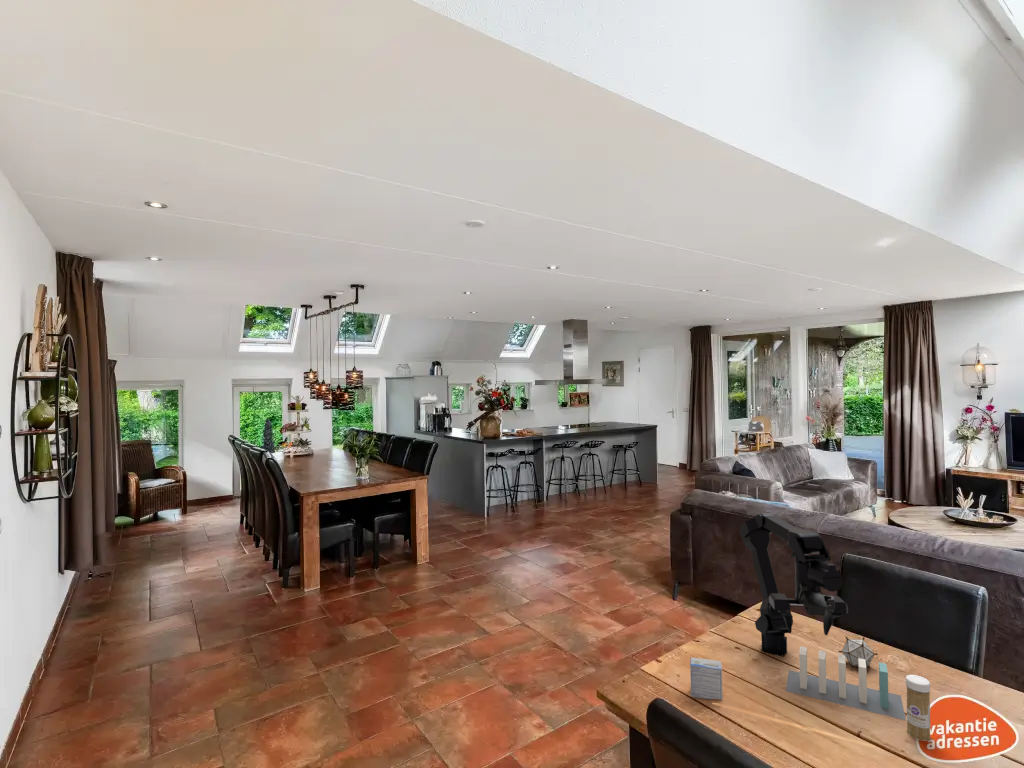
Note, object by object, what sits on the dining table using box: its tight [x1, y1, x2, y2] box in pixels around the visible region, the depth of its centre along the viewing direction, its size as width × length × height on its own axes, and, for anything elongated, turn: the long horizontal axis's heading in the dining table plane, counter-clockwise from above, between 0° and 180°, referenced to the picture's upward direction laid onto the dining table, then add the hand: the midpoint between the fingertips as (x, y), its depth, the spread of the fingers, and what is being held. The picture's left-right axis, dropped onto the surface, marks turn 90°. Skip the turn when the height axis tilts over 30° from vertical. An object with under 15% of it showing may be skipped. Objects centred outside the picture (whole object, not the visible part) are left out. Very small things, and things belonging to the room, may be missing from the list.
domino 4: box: [857, 658, 868, 704], centre depth 140 cm, size 2×5×9 cm, turn 149°
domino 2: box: [818, 650, 827, 694], centre depth 145 cm, size 2×5×9 cm, turn 149°
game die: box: [838, 635, 879, 668], centre depth 157 cm, size 9×8×10 cm
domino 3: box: [837, 653, 847, 699], centre depth 143 cm, size 2×5×9 cm, turn 149°
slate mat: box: [785, 669, 907, 721], centre depth 143 cm, size 26×12×1 cm, turn 59°
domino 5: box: [878, 662, 889, 709], centre depth 138 cm, size 2×5×9 cm, turn 149°
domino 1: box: [798, 645, 808, 689], centre depth 147 cm, size 2×5×9 cm, turn 149°
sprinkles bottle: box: [905, 674, 932, 742], centre depth 125 cm, size 5×5×14 cm
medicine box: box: [689, 657, 724, 701], centre depth 144 cm, size 8×4×9 cm, turn 71°
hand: (807, 633), depth 151 cm, fingers open, 9 cm apart
